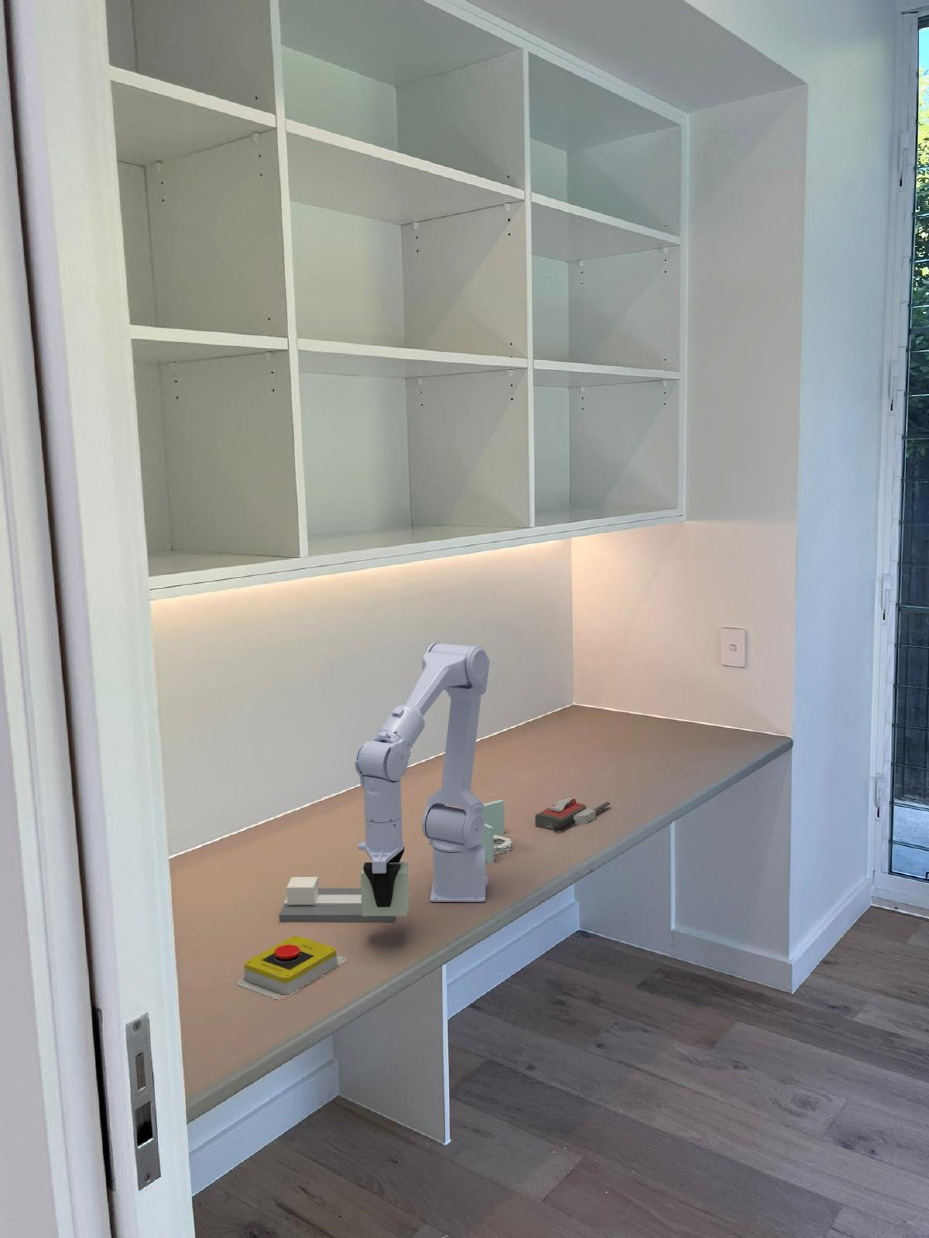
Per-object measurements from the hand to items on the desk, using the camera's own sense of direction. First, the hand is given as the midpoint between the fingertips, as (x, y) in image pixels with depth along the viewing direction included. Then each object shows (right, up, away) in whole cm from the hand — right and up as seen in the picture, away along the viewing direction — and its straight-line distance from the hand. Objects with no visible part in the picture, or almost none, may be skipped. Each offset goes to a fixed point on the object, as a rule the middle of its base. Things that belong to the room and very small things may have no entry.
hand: (385, 899), depth 167 cm
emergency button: (-13, -9, -9) cm, 18 cm away
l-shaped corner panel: (+19, -1, +40) cm, 44 cm away
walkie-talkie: (+35, +2, +57) cm, 67 cm away
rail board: (-9, -5, +13) cm, 16 cm away
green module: (0, -2, 0) cm, 2 cm away
